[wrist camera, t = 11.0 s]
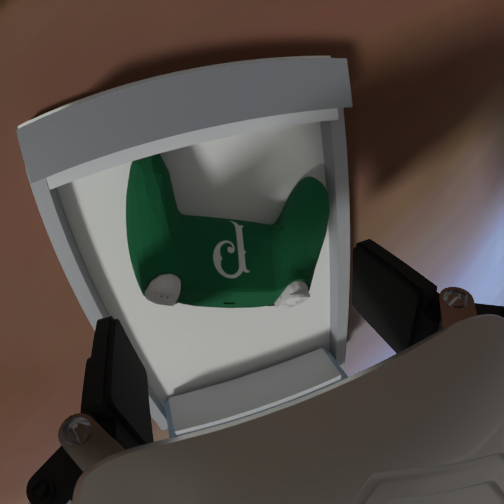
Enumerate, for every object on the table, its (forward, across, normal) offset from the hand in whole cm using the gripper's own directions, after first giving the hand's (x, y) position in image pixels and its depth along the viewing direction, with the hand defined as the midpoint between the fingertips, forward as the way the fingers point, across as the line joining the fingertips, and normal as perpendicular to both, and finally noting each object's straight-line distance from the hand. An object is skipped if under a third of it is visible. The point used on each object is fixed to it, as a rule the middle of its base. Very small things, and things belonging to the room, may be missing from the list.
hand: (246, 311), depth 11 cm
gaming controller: (+5, 0, -2) cm, 5 cm away
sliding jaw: (+5, 0, +10) cm, 11 cm away
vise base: (+6, 0, +2) cm, 6 cm away
